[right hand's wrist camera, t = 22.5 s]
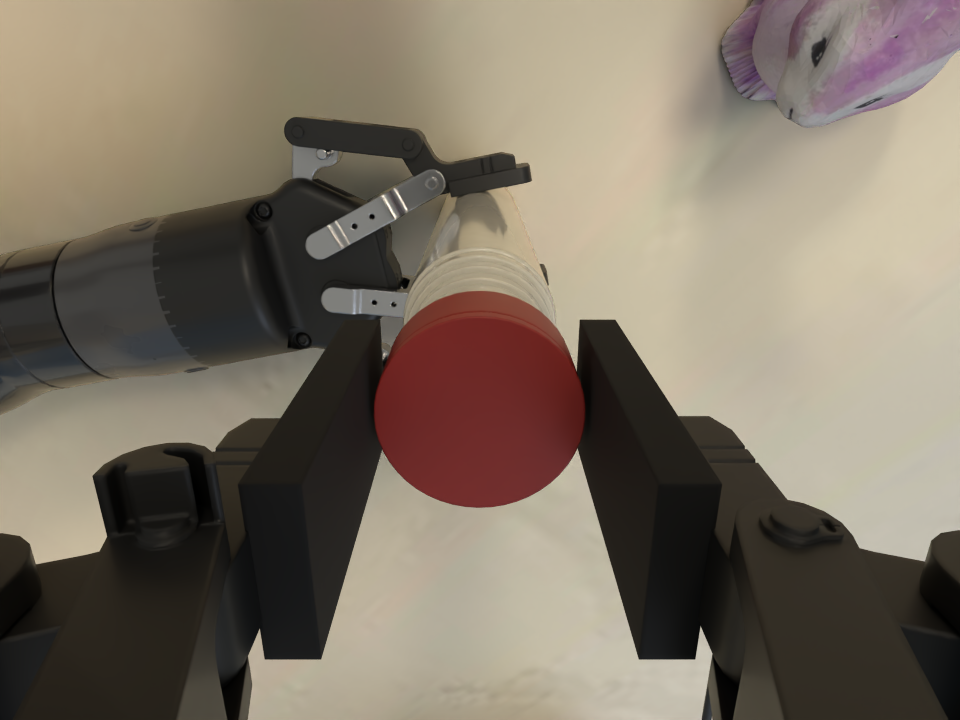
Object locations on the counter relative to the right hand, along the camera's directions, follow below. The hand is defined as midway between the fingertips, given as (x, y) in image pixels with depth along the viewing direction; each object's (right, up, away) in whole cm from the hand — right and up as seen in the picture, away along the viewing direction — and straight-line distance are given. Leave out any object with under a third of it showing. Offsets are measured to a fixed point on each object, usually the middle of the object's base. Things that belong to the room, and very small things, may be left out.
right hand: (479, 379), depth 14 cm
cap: (0, -1, -1) cm, 2 cm away
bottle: (0, +8, +22) cm, 24 cm away
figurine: (+17, +17, +19) cm, 31 cm away
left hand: (+3, +7, +16) cm, 18 cm away
